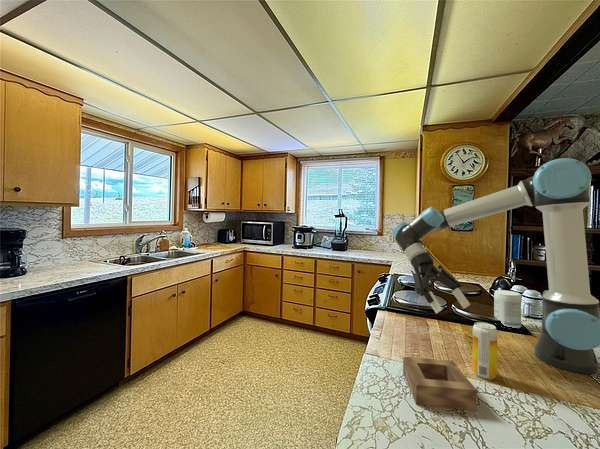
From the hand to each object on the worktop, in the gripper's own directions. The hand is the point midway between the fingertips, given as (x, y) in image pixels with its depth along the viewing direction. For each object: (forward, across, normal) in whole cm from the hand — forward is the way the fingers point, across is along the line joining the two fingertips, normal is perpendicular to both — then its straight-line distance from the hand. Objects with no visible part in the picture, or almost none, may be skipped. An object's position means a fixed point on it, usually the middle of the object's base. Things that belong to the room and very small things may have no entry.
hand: (453, 309), depth 90 cm
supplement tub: (+5, -50, -19) cm, 54 cm away
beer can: (+19, 0, -5) cm, 20 cm away
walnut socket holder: (+19, +19, -5) cm, 27 cm away
